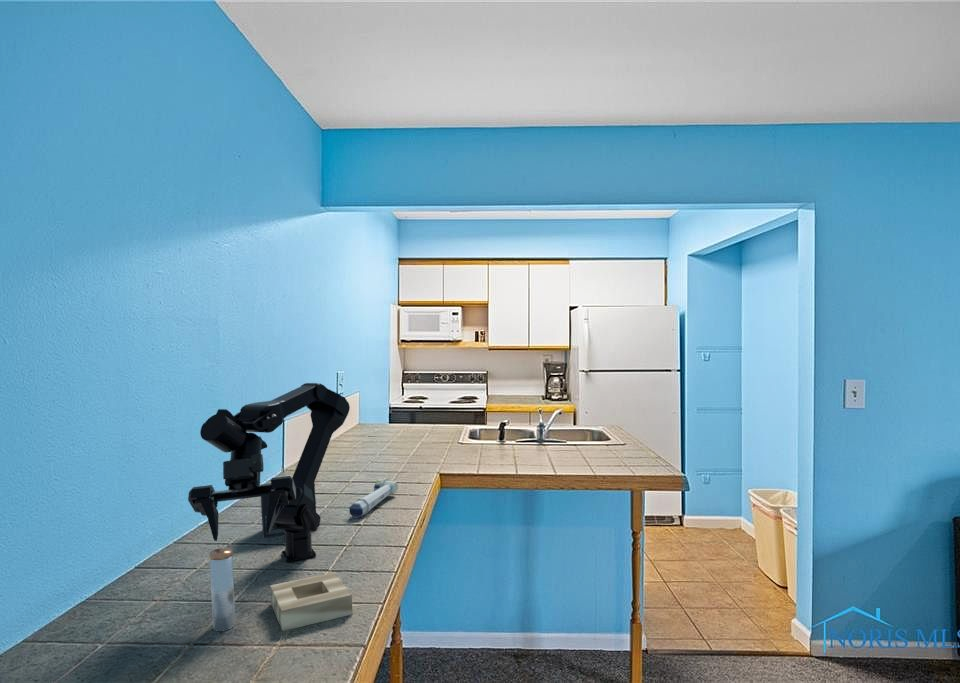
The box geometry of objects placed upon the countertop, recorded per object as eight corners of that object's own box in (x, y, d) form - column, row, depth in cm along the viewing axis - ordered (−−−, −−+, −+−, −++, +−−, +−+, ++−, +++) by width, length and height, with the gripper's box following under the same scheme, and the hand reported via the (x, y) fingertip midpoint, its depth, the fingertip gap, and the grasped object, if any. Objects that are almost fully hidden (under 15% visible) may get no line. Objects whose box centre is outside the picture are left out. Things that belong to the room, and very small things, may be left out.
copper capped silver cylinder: (212, 624, 109) (208, 550, 109) (234, 619, 111) (231, 546, 111) (213, 633, 106) (210, 557, 106) (236, 628, 108) (233, 552, 107)
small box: (314, 522, 165) (313, 477, 165) (317, 530, 159) (316, 483, 159) (261, 530, 161) (259, 483, 160) (262, 538, 154) (260, 489, 154)
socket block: (271, 604, 117) (270, 585, 117) (335, 589, 122) (334, 571, 122) (282, 631, 106) (281, 610, 106) (352, 614, 112) (351, 594, 111)
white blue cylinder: (362, 501, 167) (402, 476, 191) (340, 500, 169) (382, 475, 193) (363, 521, 167) (403, 493, 191) (341, 519, 169) (383, 492, 193)
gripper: (184, 446, 117) (175, 525, 108) (288, 435, 121) (288, 511, 111) (199, 474, 126) (191, 550, 116) (296, 463, 130) (296, 536, 120)
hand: (241, 536), depth 116 cm, fingers open, 9 cm apart
